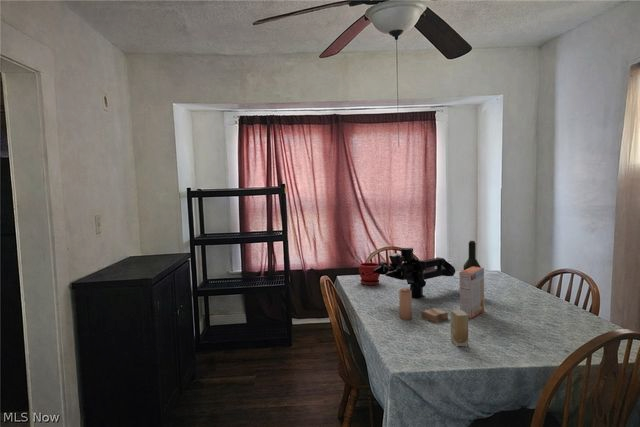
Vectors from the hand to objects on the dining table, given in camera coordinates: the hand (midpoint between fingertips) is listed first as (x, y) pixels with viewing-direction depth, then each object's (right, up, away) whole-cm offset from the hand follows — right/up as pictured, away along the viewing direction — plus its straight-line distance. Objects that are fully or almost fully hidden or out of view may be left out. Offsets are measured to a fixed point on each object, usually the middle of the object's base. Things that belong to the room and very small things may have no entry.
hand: (379, 273), depth 189 cm
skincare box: (+23, -20, -45) cm, 55 cm away
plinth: (+22, -17, -18) cm, 33 cm away
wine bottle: (+50, -15, +10) cm, 53 cm away
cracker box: (+41, -17, -14) cm, 46 cm away
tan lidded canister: (+9, -18, -16) cm, 26 cm away
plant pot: (+1, -13, +44) cm, 46 cm away
